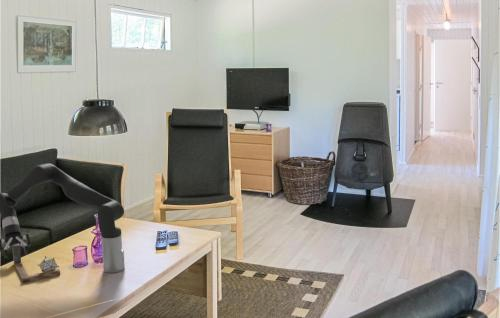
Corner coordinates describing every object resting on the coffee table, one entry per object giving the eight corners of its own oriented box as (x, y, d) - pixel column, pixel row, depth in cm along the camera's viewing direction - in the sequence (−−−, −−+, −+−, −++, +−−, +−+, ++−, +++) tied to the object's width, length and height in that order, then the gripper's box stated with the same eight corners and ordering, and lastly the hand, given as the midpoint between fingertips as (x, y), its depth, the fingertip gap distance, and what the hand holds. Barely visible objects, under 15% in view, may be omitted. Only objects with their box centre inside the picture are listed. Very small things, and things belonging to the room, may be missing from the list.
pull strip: (47, 257, 251) (46, 238, 249) (60, 274, 230) (58, 254, 228) (13, 264, 242) (11, 244, 241) (23, 283, 221) (21, 261, 219)
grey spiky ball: (48, 282, 230) (38, 272, 223) (41, 271, 236) (31, 260, 228) (65, 270, 234) (55, 259, 226) (57, 259, 239) (48, 248, 231)
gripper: (-5, 226, 241) (1, 255, 234) (26, 221, 249) (33, 249, 241) (-5, 233, 246) (0, 262, 239) (26, 228, 254) (32, 256, 247)
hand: (17, 255), depth 240 cm, fingers open, 8 cm apart
